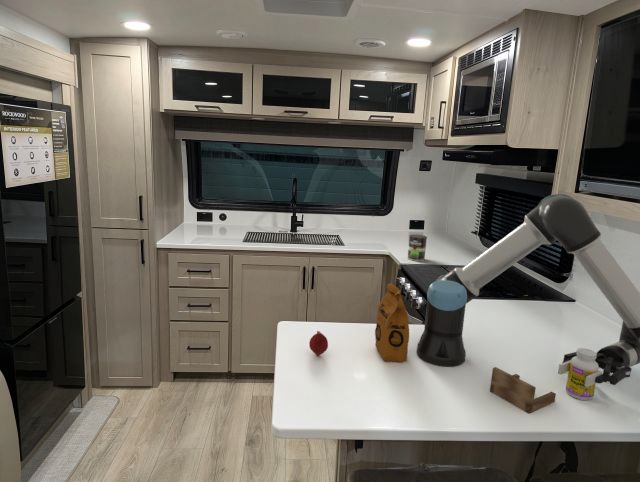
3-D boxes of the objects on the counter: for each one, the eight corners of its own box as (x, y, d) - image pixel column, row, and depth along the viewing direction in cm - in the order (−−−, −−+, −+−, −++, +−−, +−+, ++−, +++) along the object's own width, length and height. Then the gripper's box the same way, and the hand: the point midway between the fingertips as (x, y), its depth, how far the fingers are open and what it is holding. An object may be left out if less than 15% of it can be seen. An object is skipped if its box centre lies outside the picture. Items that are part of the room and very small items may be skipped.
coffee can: (422, 262, 265) (424, 238, 262) (405, 259, 269) (407, 236, 266) (426, 258, 274) (428, 235, 271) (410, 256, 278) (412, 233, 275)
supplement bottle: (563, 395, 124) (570, 351, 121) (567, 385, 129) (574, 344, 126) (591, 404, 120) (599, 359, 117) (594, 394, 125) (602, 351, 122)
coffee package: (378, 363, 137) (383, 294, 133) (372, 345, 149) (376, 282, 145) (410, 364, 138) (417, 295, 133) (401, 346, 150) (407, 282, 145)
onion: (327, 351, 144) (328, 327, 142) (327, 359, 138) (329, 335, 136) (308, 350, 143) (309, 327, 142) (308, 359, 138) (310, 334, 136)
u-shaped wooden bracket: (489, 391, 124) (492, 368, 122) (514, 381, 130) (518, 359, 128) (529, 413, 114) (533, 388, 113) (554, 402, 120) (558, 378, 118)
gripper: (651, 384, 125) (609, 406, 113) (580, 355, 141) (536, 372, 129) (657, 359, 123) (614, 379, 111) (584, 333, 140) (540, 348, 128)
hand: (573, 375), depth 120 cm, fingers closed on supplement bottle, 7 cm apart
